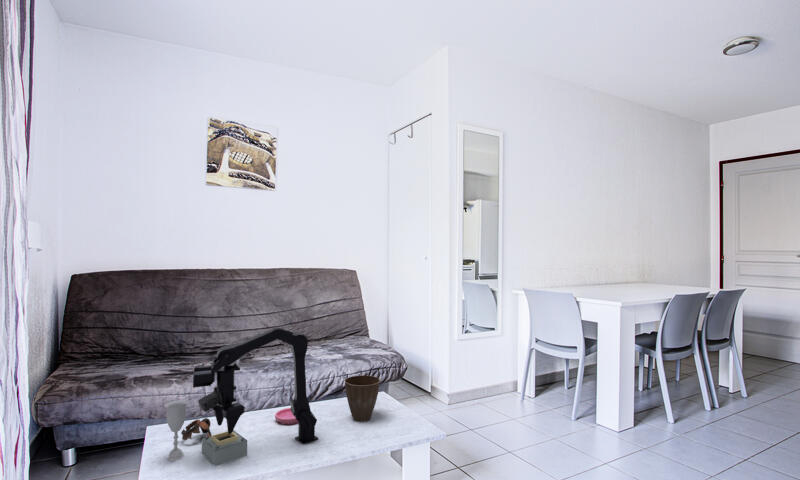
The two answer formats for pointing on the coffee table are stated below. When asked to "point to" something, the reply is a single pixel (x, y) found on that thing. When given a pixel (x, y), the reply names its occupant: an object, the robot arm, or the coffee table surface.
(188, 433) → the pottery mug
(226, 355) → the robot arm
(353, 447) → the coffee table surface
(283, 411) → the saucer
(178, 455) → the chalice
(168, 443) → the coffee table surface
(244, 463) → the coffee table surface
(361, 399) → the plant pot
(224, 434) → the grey box with opening
